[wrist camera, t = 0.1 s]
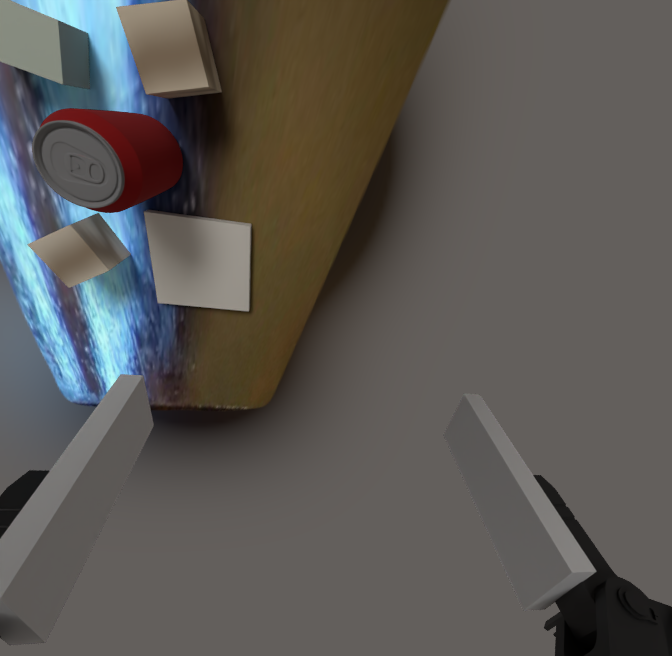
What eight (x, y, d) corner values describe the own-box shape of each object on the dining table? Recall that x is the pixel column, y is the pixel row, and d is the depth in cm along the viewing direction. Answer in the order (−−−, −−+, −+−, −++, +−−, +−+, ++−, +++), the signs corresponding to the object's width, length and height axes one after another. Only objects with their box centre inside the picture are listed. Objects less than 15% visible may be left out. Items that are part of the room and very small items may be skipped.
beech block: (145, 25, 26) (116, 7, 22) (204, 19, 27) (186, -1, 22) (168, 98, 29) (146, 94, 25) (222, 92, 29) (208, 86, 25)
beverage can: (112, 100, 29) (11, 86, 19) (190, 131, 31) (135, 133, 21) (111, 176, 32) (24, 198, 22) (181, 200, 34) (131, 231, 24)
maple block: (60, 230, 34) (27, 244, 30) (99, 212, 34) (70, 224, 30) (95, 269, 37) (69, 287, 33) (131, 254, 37) (109, 270, 32)
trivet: (147, 209, 34) (143, 211, 33) (251, 223, 36) (250, 226, 35) (160, 299, 40) (157, 302, 39) (250, 307, 42) (248, 311, 41)
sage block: (3, -2, 25) (-44, -22, 22) (88, 33, 26) (57, 20, 23) (11, 59, 27) (-30, 50, 24) (91, 89, 28) (63, 84, 25)
